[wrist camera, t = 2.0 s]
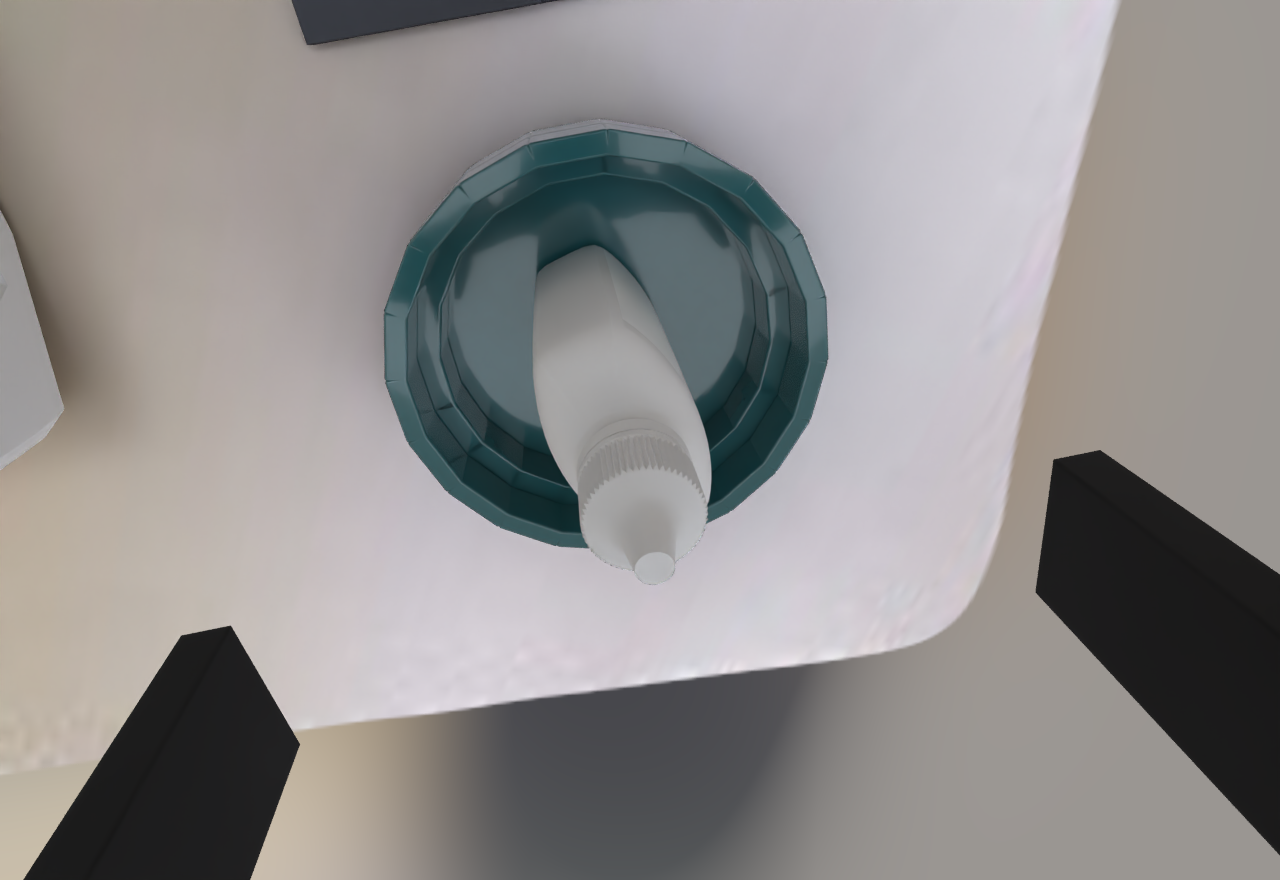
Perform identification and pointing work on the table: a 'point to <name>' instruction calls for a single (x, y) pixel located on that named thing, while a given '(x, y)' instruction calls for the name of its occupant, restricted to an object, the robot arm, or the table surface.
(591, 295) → the eye dropper bottle
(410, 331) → the bowl
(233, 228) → the table surface
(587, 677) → the table surface
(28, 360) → the document scanner
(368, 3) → the napkin
